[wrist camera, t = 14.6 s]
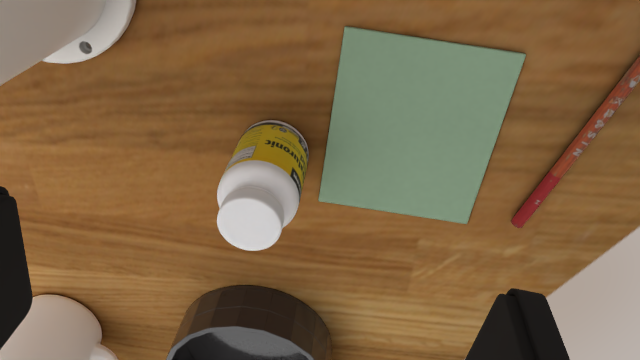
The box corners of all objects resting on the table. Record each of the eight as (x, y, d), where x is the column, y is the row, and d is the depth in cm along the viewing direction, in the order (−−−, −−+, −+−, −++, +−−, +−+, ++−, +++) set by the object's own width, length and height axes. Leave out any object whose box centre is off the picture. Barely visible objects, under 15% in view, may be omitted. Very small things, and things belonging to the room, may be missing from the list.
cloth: (318, 199, 42) (318, 201, 41) (345, 25, 34) (344, 27, 34) (466, 221, 41) (466, 224, 41) (525, 53, 34) (526, 54, 34)
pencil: (519, 224, 41) (522, 231, 40) (507, 219, 41) (510, 226, 40) (701, -5, 31) (710, -1, 30) (687, -12, 31) (695, -9, 30)
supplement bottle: (323, 159, 40) (310, 238, 31) (268, 190, 42) (242, 273, 33) (281, 104, 37) (255, 173, 29) (225, 140, 39) (185, 214, 31)
